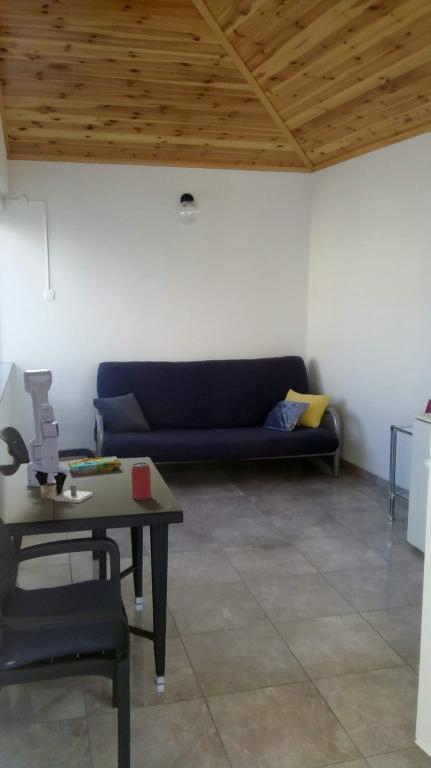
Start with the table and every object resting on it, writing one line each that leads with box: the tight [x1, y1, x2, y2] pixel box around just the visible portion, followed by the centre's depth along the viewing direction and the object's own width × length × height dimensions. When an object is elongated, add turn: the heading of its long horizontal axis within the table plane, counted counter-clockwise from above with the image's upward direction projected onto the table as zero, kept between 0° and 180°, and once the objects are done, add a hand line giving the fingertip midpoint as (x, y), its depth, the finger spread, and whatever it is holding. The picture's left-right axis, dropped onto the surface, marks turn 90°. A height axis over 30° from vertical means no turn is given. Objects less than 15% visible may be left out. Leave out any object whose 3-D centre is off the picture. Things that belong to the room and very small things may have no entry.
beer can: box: [130, 462, 152, 501], centre depth 234 cm, size 7×7×12 cm
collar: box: [40, 482, 64, 500], centre depth 239 cm, size 6×6×4 cm
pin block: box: [54, 483, 94, 504], centre depth 236 cm, size 10×9×5 cm
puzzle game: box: [67, 456, 122, 476], centre depth 275 cm, size 12×5×20 cm
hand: (52, 492), depth 239 cm, fingers closed on collar, 6 cm apart
